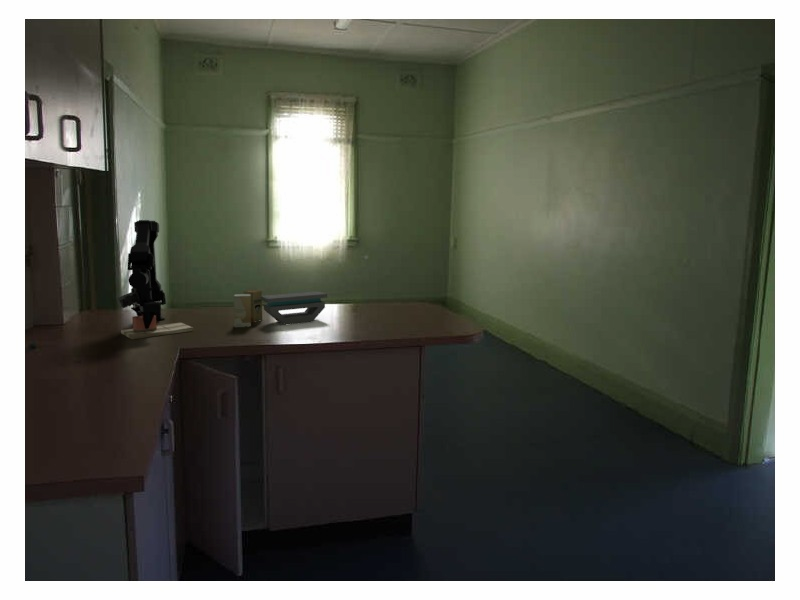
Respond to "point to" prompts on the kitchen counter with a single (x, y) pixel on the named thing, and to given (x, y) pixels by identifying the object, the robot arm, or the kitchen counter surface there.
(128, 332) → the cream flat rectangular board
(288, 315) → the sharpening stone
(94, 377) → the kitchen counter surface
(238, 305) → the skincare box
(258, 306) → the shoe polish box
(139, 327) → the block
